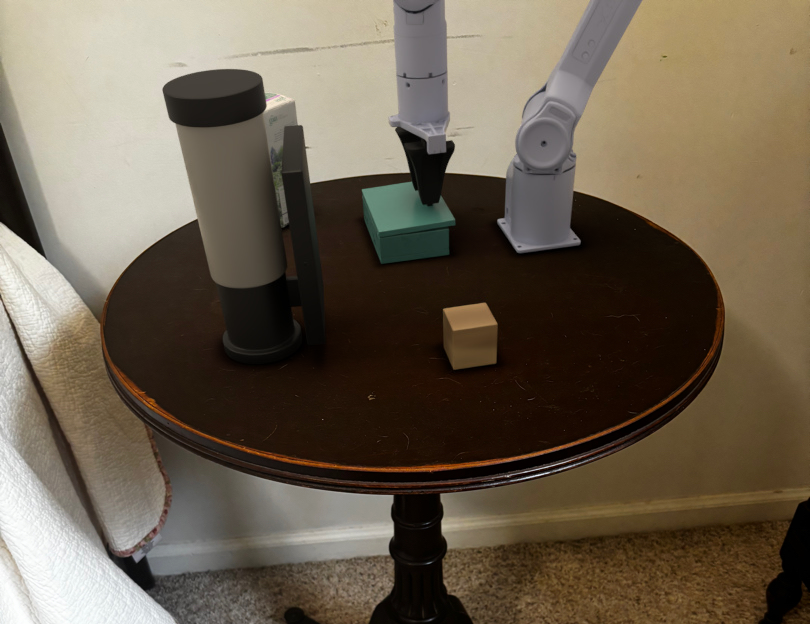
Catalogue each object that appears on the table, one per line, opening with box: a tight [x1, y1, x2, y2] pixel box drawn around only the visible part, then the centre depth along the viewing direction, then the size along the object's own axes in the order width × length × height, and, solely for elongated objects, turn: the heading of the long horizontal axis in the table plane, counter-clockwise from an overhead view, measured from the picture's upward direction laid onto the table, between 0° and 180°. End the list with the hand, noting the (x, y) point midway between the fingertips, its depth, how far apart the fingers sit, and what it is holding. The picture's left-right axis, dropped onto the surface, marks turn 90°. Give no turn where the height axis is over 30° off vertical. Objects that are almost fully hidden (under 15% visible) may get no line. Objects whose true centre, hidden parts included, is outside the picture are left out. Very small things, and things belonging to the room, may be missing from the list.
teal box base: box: [361, 194, 450, 265], centre depth 100 cm, size 8×13×3 cm, turn 11°
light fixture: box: [162, 68, 327, 365], centre depth 76 cm, size 12×11×25 cm
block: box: [442, 302, 499, 371], centre depth 79 cm, size 4×4×4 cm
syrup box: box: [263, 91, 299, 229], centre depth 102 cm, size 6×6×14 cm
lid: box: [361, 181, 456, 237], centre depth 97 cm, size 9×13×4 cm
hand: (426, 195), depth 98 cm, fingers closed on lid, 4 cm apart
